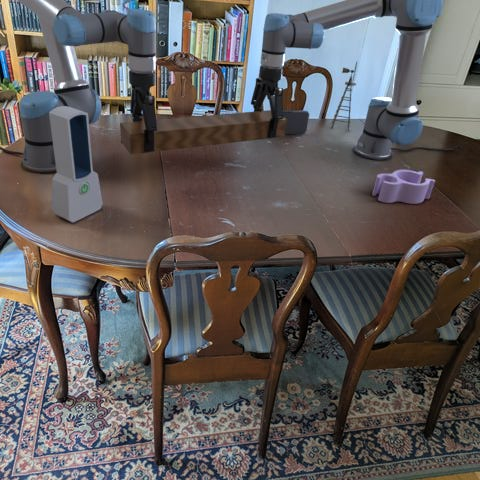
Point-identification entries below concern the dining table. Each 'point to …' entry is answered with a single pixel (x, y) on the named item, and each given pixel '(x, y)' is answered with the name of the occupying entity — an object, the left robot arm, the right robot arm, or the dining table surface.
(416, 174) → the clip
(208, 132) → the slab
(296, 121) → the handheld gaming console
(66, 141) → the electronic device
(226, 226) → the dining table surface
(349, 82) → the miniature windmill
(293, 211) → the dining table surface
